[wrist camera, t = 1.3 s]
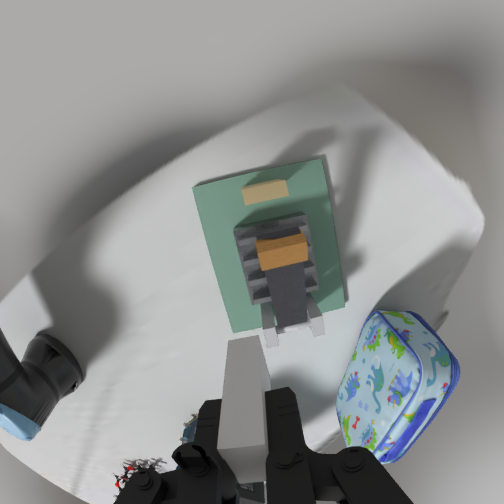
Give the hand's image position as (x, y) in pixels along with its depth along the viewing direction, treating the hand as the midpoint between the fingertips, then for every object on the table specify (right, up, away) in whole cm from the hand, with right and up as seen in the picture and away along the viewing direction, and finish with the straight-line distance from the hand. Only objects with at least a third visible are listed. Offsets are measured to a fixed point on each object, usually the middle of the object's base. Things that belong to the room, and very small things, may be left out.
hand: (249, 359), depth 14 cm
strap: (+4, +2, +18) cm, 18 cm away
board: (+4, +6, +29) cm, 30 cm away
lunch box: (+23, -16, +36) cm, 45 cm away
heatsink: (+4, +5, +29) cm, 30 cm away
